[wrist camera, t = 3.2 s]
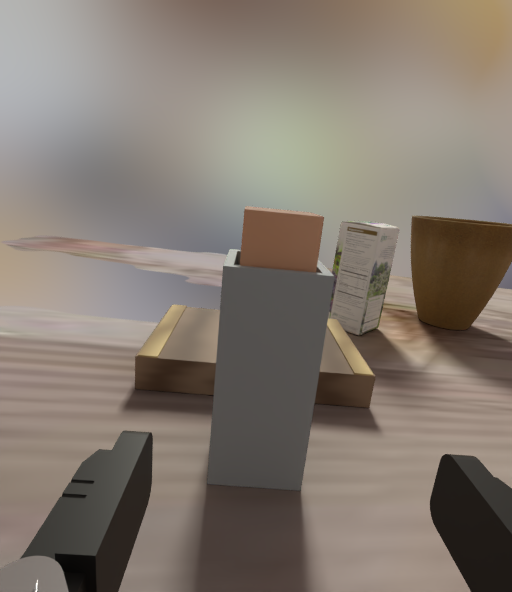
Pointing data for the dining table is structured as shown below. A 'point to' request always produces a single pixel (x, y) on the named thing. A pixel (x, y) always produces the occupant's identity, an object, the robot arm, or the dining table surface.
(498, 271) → the plant pot
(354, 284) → the syrup box
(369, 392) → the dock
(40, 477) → the dining table surface
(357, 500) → the dining table surface
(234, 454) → the grey open box
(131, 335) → the dining table surface
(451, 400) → the dining table surface
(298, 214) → the block
